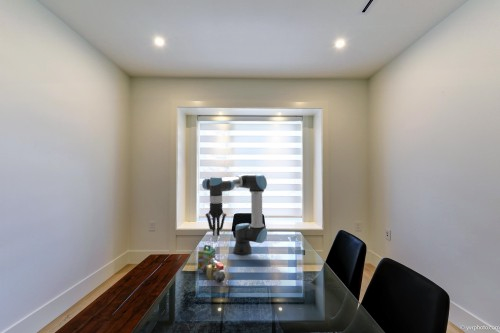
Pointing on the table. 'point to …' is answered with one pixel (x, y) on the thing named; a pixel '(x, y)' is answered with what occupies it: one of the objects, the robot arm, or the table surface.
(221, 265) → the lever
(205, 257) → the chalk box
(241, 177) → the robot arm
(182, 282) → the table surface
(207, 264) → the valve
